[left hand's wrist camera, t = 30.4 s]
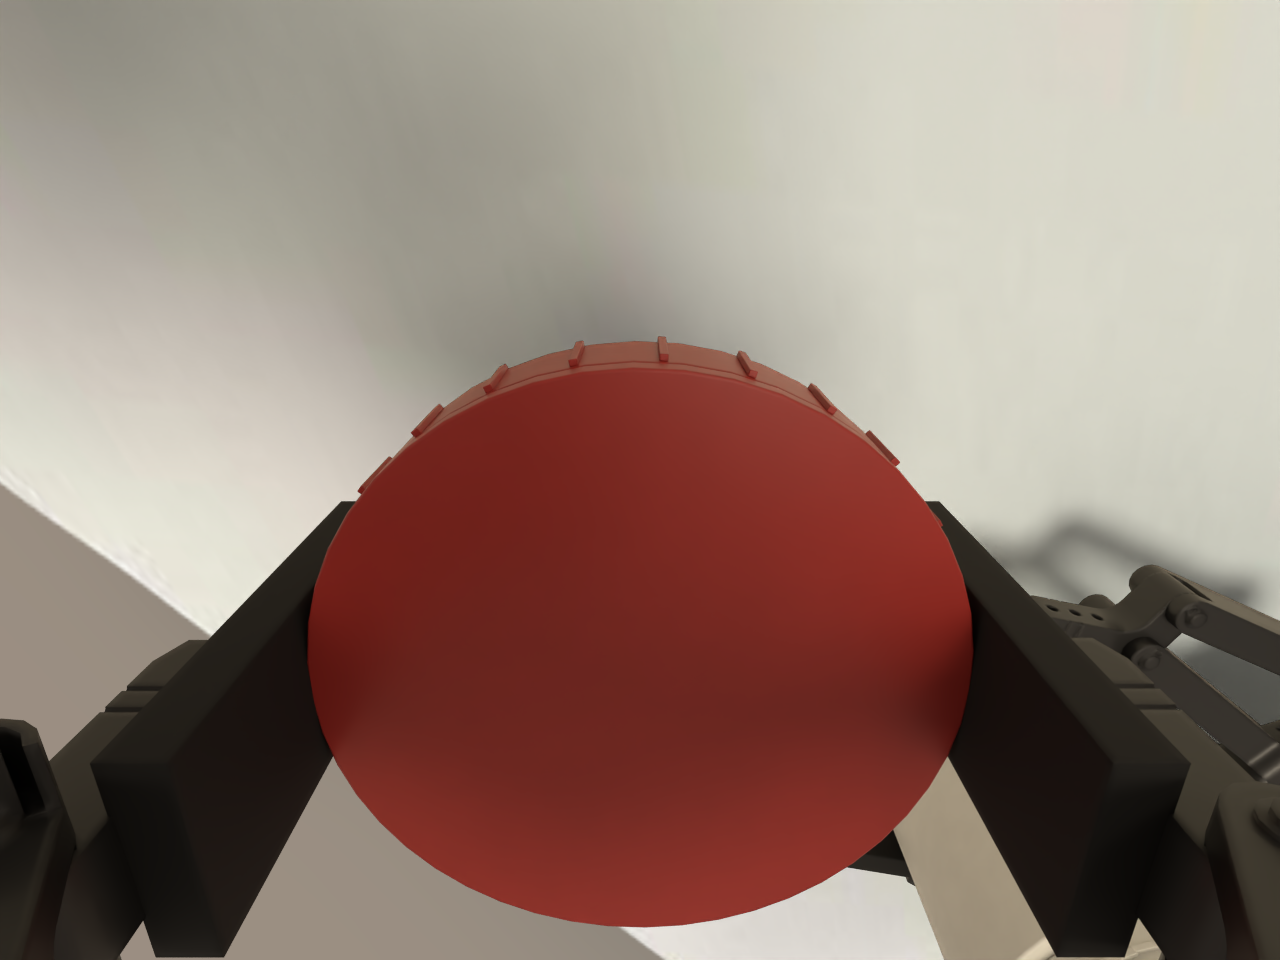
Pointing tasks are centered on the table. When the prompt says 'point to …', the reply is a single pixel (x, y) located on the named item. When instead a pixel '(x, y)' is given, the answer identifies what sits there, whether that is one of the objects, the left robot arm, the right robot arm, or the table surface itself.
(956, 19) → the table surface
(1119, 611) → the right robot arm
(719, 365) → the lid
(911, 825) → the jar
